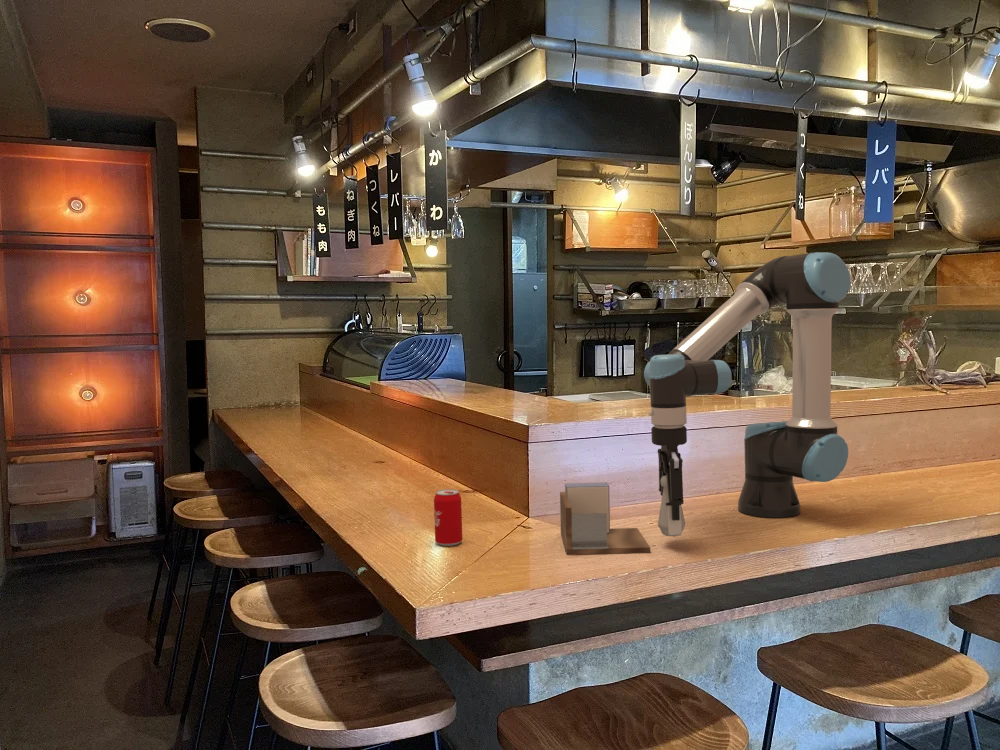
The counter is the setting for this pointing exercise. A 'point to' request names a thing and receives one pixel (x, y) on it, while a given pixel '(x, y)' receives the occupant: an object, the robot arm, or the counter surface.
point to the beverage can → (448, 517)
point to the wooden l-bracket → (616, 539)
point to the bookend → (589, 531)
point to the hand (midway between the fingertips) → (671, 529)
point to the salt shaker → (666, 510)
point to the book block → (589, 498)
